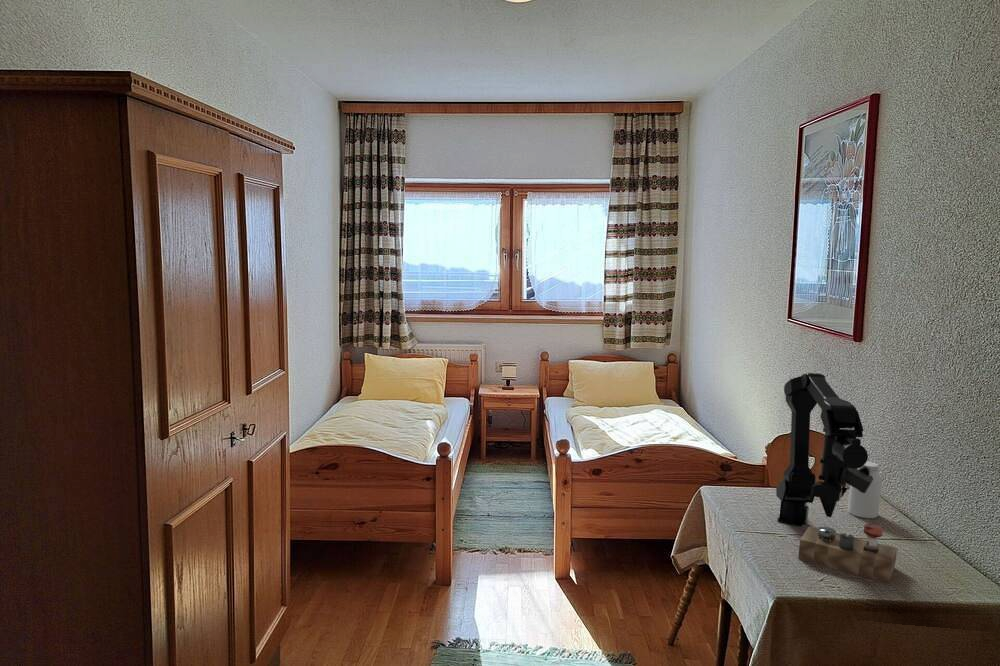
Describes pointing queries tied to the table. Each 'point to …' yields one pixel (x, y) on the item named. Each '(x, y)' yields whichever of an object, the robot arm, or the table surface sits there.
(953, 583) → the table surface
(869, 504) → the pill bottle
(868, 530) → the knob right
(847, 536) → the dial
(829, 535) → the knob left
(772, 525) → the table surface
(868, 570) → the mount
